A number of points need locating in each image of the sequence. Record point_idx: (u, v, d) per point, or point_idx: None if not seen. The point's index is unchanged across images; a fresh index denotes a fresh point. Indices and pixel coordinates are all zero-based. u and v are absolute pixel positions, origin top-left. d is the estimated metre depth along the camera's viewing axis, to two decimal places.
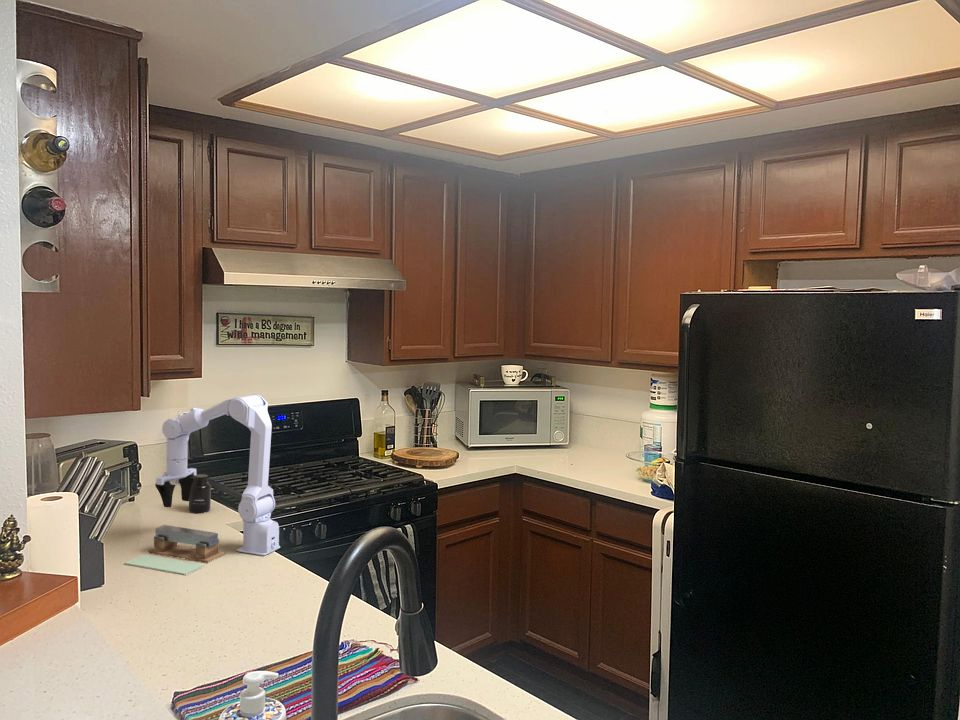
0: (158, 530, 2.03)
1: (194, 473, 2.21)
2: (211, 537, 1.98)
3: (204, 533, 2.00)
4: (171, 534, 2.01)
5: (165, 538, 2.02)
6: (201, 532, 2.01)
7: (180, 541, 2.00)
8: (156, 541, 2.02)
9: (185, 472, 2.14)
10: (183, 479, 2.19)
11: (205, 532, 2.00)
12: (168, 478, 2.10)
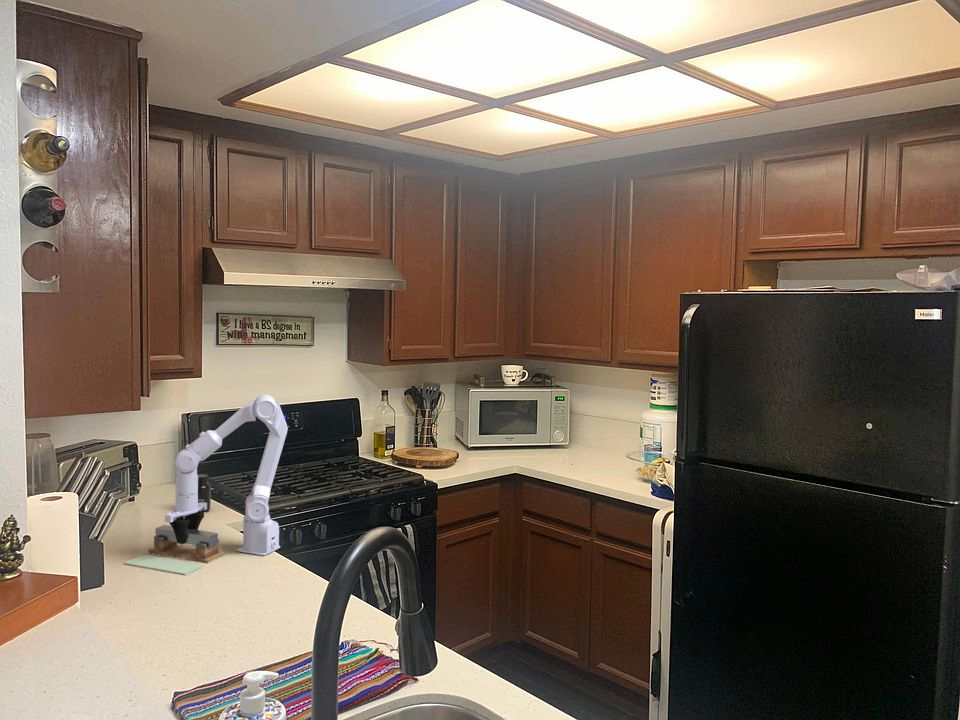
0: (158, 530, 2.03)
1: (205, 507, 2.07)
2: (211, 537, 1.98)
3: (204, 533, 2.00)
4: (171, 534, 2.01)
5: (165, 538, 2.02)
6: (201, 532, 2.01)
7: None
8: (156, 541, 2.02)
9: (195, 508, 2.01)
10: (189, 516, 2.04)
11: (205, 532, 2.00)
12: (177, 515, 1.96)
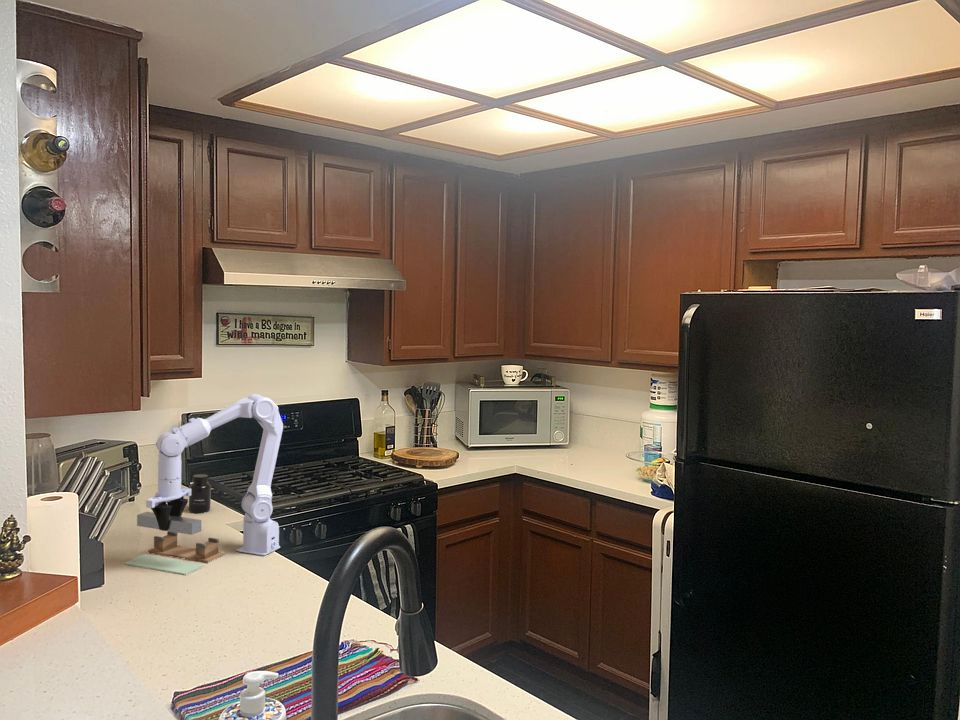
0: (140, 517, 1.95)
1: (189, 493, 2.00)
2: (194, 524, 1.91)
3: (187, 520, 1.92)
4: (153, 521, 1.94)
5: (147, 525, 1.94)
6: (184, 519, 1.93)
7: None
8: (156, 541, 2.02)
9: (178, 493, 1.93)
10: (172, 502, 1.96)
11: (189, 519, 1.93)
12: (159, 500, 1.89)
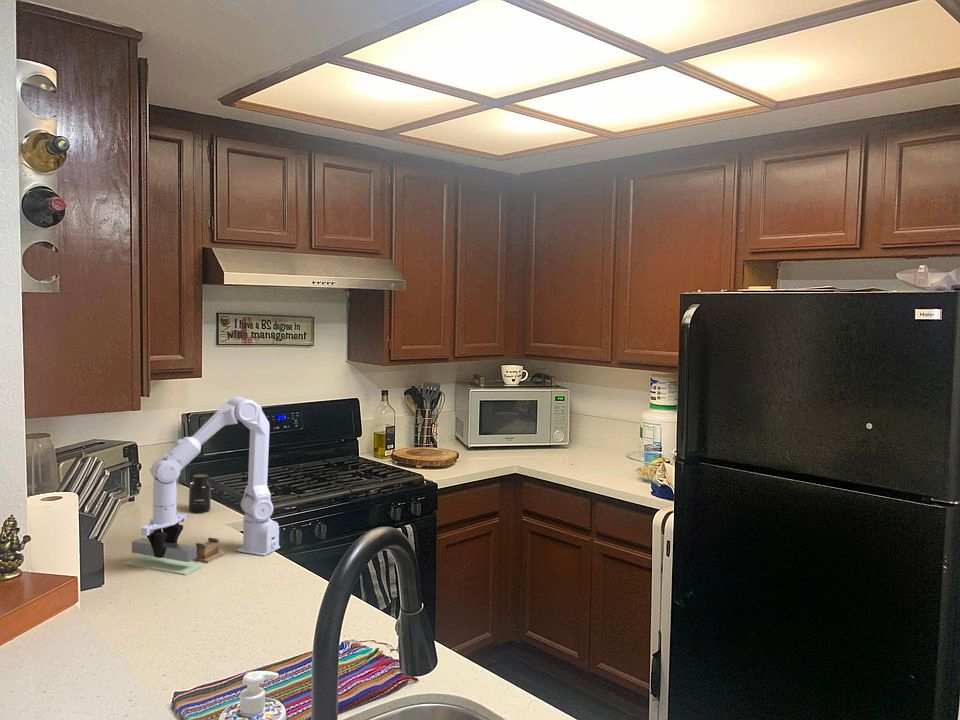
0: (134, 543, 1.93)
1: (184, 519, 1.98)
2: (190, 551, 1.89)
3: (183, 547, 1.91)
4: (148, 548, 1.92)
5: (142, 552, 1.93)
6: (179, 546, 1.91)
7: None
8: None
9: (174, 520, 1.92)
10: (167, 528, 1.94)
11: (184, 546, 1.91)
12: (154, 527, 1.87)
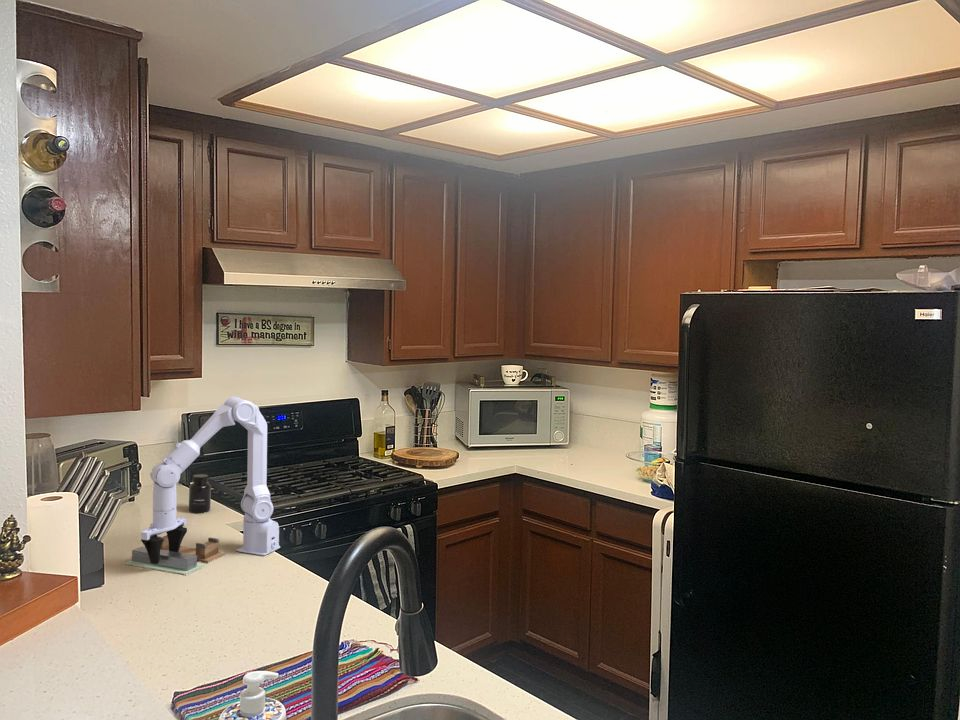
0: (135, 552, 1.94)
1: (184, 523, 1.98)
2: (190, 559, 1.89)
3: (183, 555, 1.91)
4: (148, 557, 1.92)
5: (142, 560, 1.93)
6: (179, 554, 1.92)
7: (157, 564, 1.91)
8: None
9: (174, 524, 1.92)
10: (171, 531, 1.96)
11: (184, 555, 1.91)
12: (154, 532, 1.87)
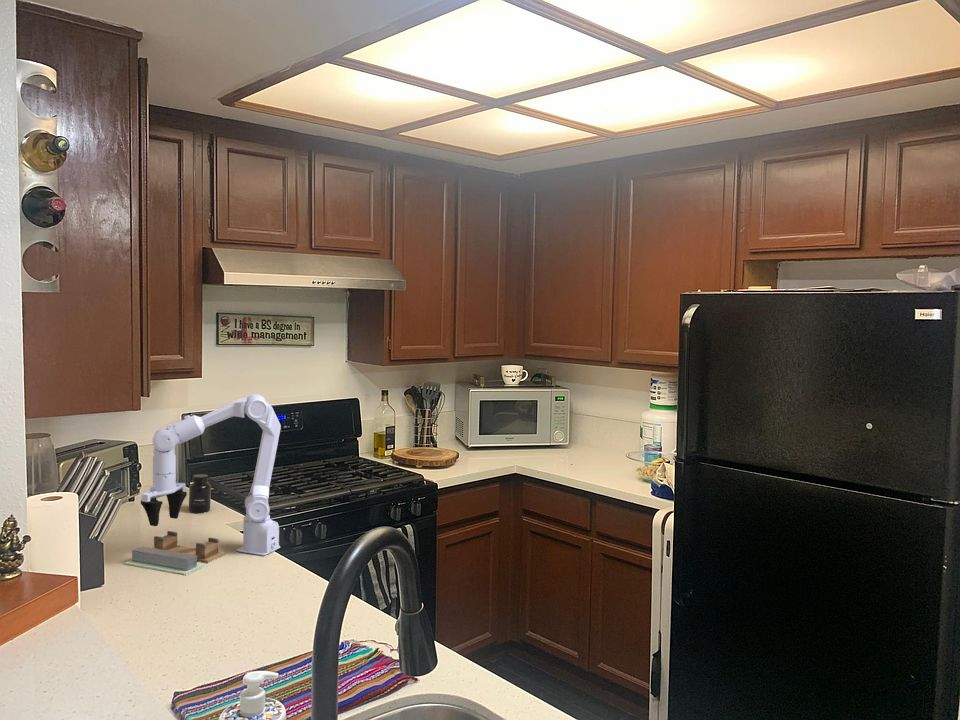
0: (135, 552, 1.94)
1: (183, 488, 2.04)
2: (190, 559, 1.89)
3: (183, 555, 1.91)
4: (148, 557, 1.92)
5: (142, 560, 1.93)
6: (179, 554, 1.92)
7: (157, 564, 1.91)
8: (156, 541, 2.02)
9: (173, 487, 1.98)
10: (171, 495, 2.02)
11: (184, 555, 1.91)
12: (155, 494, 1.93)
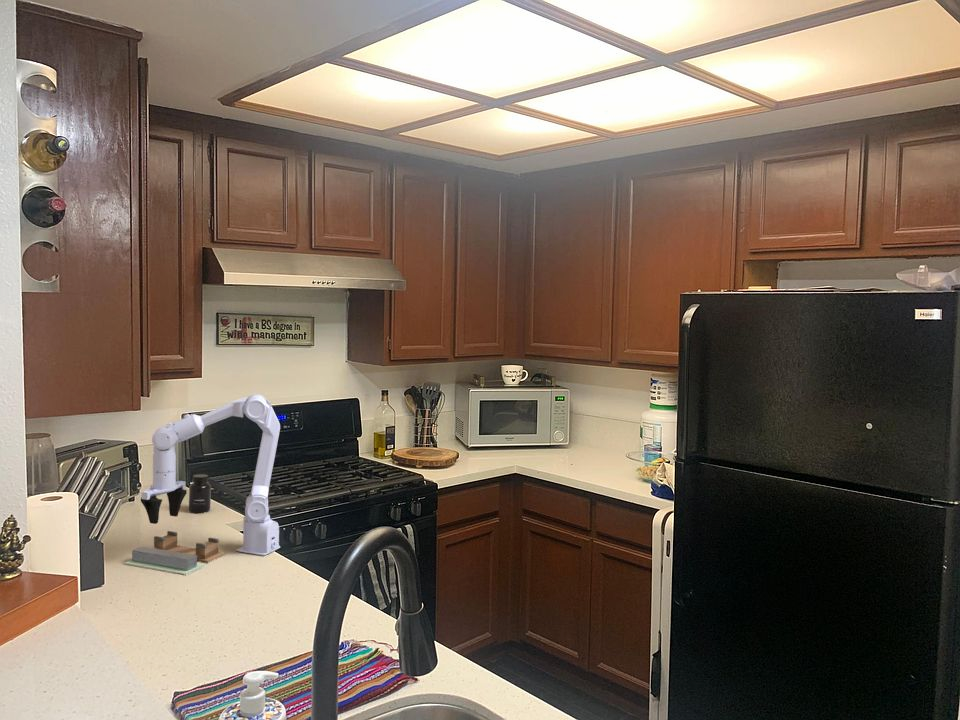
0: (135, 552, 1.94)
1: (183, 486, 2.06)
2: (190, 559, 1.89)
3: (183, 555, 1.91)
4: (148, 557, 1.92)
5: (142, 560, 1.93)
6: (179, 554, 1.92)
7: (157, 564, 1.91)
8: (156, 541, 2.02)
9: (173, 485, 1.99)
10: (171, 493, 2.04)
11: (184, 555, 1.91)
12: (154, 492, 1.95)
